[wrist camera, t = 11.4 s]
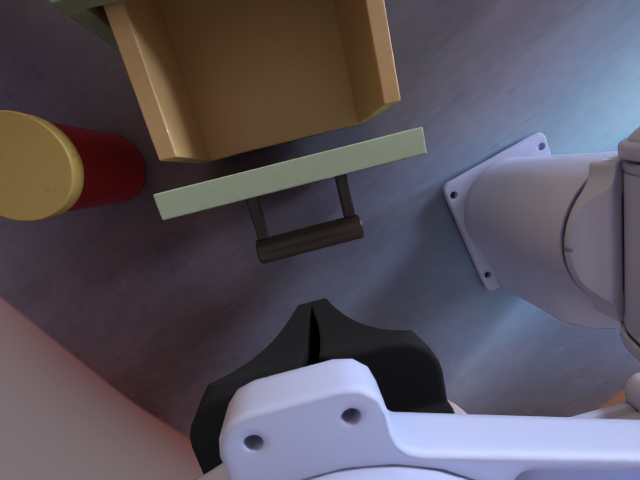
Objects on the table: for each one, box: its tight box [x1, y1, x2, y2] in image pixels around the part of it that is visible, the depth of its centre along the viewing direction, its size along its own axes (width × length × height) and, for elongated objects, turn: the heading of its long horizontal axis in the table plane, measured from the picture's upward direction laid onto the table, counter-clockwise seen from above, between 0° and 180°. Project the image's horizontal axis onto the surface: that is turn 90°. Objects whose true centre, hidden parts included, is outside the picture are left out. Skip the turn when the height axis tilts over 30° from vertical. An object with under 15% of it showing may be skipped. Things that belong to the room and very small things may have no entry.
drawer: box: [103, 0, 426, 264], centre depth 16 cm, size 16×12×7 cm
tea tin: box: [0, 110, 146, 222], centre depth 17 cm, size 5×5×7 cm
